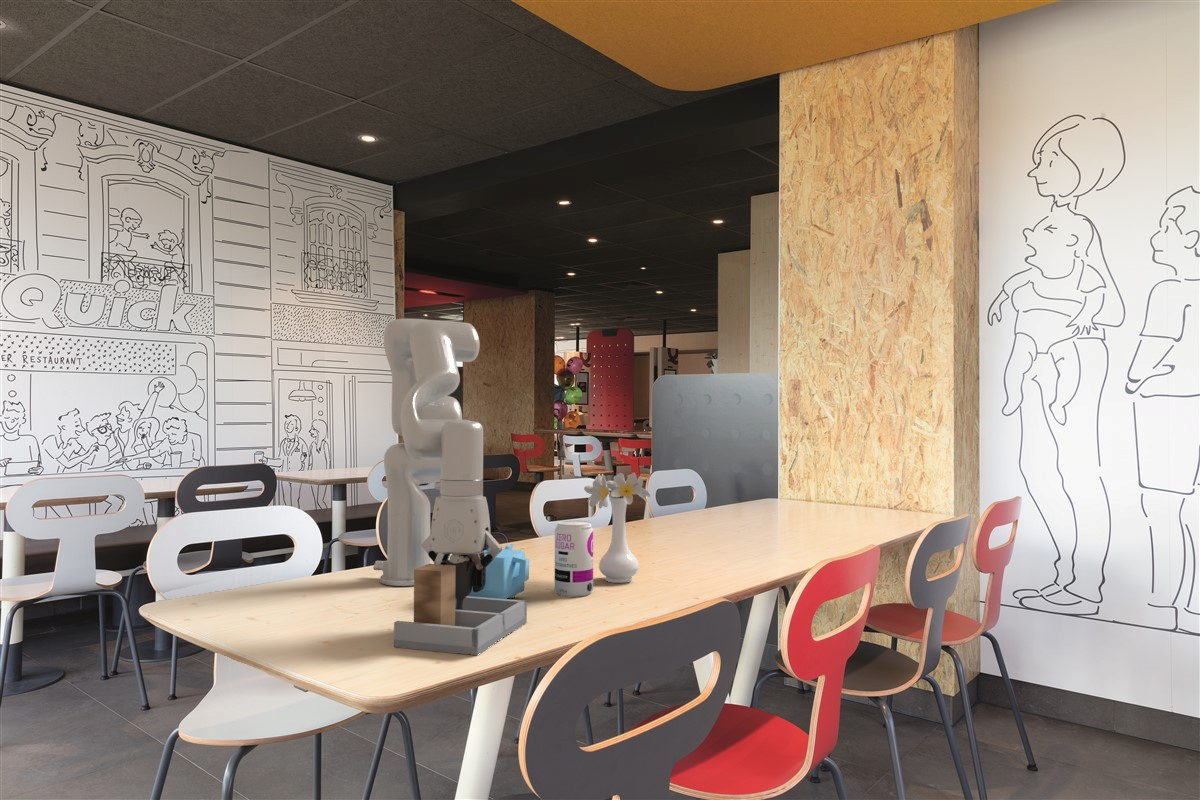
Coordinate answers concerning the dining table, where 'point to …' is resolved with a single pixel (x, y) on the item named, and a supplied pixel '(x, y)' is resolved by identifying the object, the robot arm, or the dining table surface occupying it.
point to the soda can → (574, 558)
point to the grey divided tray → (465, 627)
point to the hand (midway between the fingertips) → (461, 588)
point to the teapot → (505, 574)
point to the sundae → (462, 576)
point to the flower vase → (617, 523)
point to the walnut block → (434, 594)
